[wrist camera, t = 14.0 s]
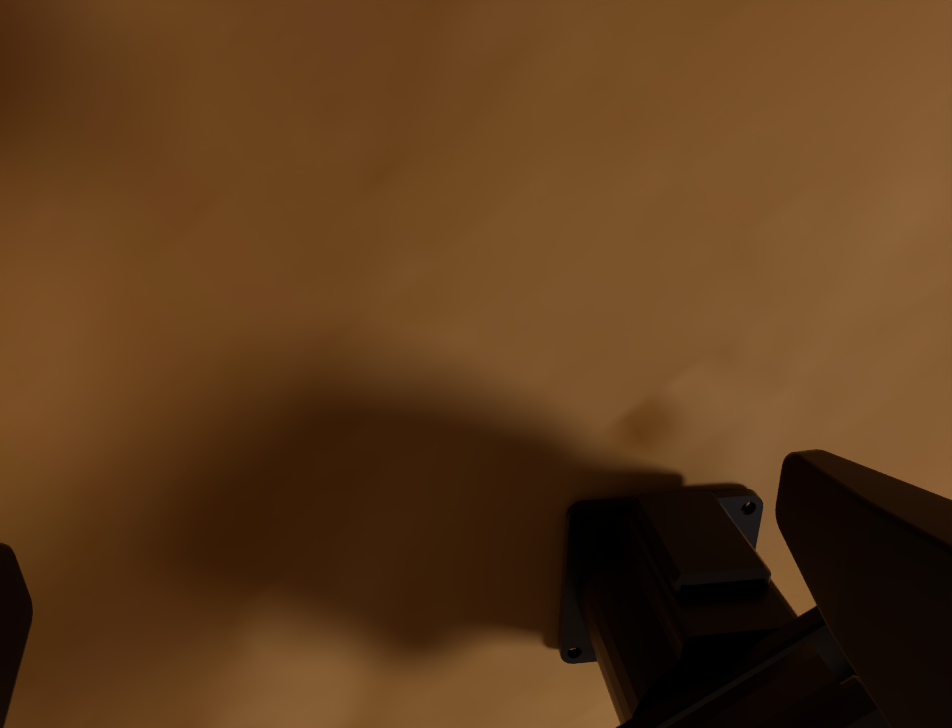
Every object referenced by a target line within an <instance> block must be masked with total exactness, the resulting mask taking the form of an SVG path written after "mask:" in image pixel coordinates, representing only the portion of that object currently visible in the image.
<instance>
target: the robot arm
mask: <svg viewBox="0 0 952 728" xmlns="http://www.w3.org/2000/svg"><path fill="white" fill-rule="evenodd" d="M748 502H750V503H749V505H748V506H747V507H744V508H742V506H743V505H744V504H745V503H748ZM762 511H763V502H762V500H761V499H760V497H759V496H758V495H757V494H756V492H754V491H753V490H751V489H736V490H722V491H709V490H703V491H689V492H676V493H662V494H648V495H638V496H636V497H627V498H613V499H599V500H586V501H579V502H576V503H574V504H573V505H571V506H570V507H569V509H568V510H567V514H566V525H565V541H564V557H563V572H562V588H561V604H560V620H559V636H558V649H559V652H560V656H561V658H562V660H563V661H564V662H566V663H570V664H576V663H586V662H596V661H598V664H599V667H600V670H601V672H602V675H603V678H604V681H605V683H606V686H607V689H608V692H609V694H610V697H611V700H612V703H613V705H614V708H615V711H616V714H617V716H618V719H619V722H620V725H619V726H617V727H616V728H952V500H950V499H948V498H945V497H942V496H940V495H937V494H935V493H932V492H930V491H927V490H924V489H922V488H919V487H917V486H914V485H912V484H909V483H906V482H904V481H901V480H899V479H896V478H894V477H891V476H888V475H886V474H883V473H881V472H878V471H876V470H873V469H870V468H868V467H865V466H863V465H860V464H858V463H855V462H852V461H850V460H847V459H845V458H842V457H840V456H837V455H834V454H832V453H829V452H827V451H824V450H818V449H815V450H807V451H798V452H791V453H789V454H788V455H787V456H786V457H785V459H784V461H783V464H782V469H781V475H780V482H779V488H778V495H777V501H776V509H775V511H776V520H777V524H778V527H779V529H780V531H781V533H782V535H783V537H784V539H785V541H786V544H787V546H788V548H789V550H790V552H791V554H792V556H793V558H794V560H795V562H796V564H797V566H798V568H799V570H800V572H801V574H802V576H803V578H804V580H805V582H806V584H807V586H808V588H809V590H810V592H811V594H812V596H813V598H814V600H815V602H816V606H815V607H813V608H812V609H810V610H808V611H807V612H805V613H803V614H802V615H800V616H797V614H796V613H795V611H794V610H793V609H792V607H791V606H790V604H789V603H788V602H787V600H786V599H785V598H784V596H783V595H782V593H781V592H780V591H779V589H778V588H777V586H776V585H775V584H774V582H773V581H772V580H771V572H770V570H769V568H768V567H767V565H766V564H765V563H764V561H763V560H762V559H761V557H760V556H759V555H758V553H757V552H756V550H755V548H756V543H757V538H758V532H759V527H760V522H761V516H762ZM584 514H586V515H588V517H587V518H586V519H584V520H577V519H578V518H579V517H580V516H581V515H584ZM32 616H33V607H32V601H31V597H30V594H29V592H28V589H27V586H26V583H25V581H24V578H23V575H22V572H21V570H20V567H19V564H18V561H17V559H16V556H15V554H14V552H13V550H12V549H11V547H10V546H8V545H6V544H4V543H0V728H4V725H5V722H6V718H7V714H8V710H9V706H10V703H11V699H12V695H13V691H14V688H15V684H16V680H17V676H18V672H19V669H20V665H21V661H22V657H23V653H24V650H25V646H26V642H27V638H28V635H29V631H30V627H31V623H32ZM574 647H577V648H576V649H573V650H570V649H571V648H574Z"/></svg>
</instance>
